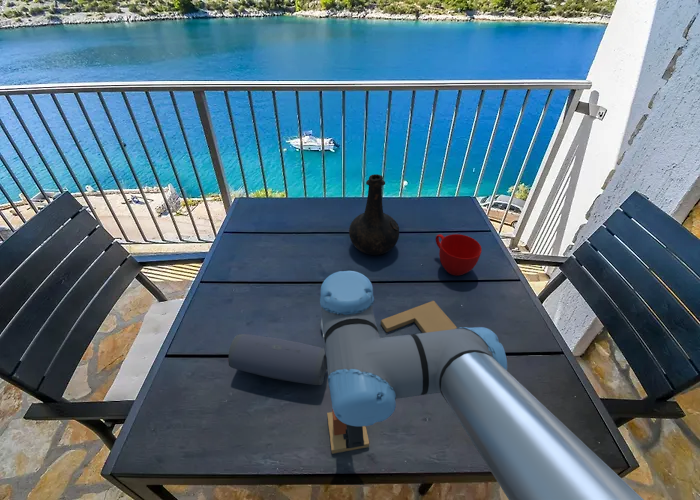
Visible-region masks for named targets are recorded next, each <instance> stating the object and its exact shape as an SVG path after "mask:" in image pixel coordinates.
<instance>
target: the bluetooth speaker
mask: <svg viewBox="0 0 700 500" xmlns="http://www.w3.org/2000/svg"><path fill="white" fill-rule="evenodd" d="M227 361H228V367H230V368H232V369H234V370H238V371H241V372H244V373H245V372H246V373H249V374H252V375H257V376H260V377H261V376H262V377H265V378H268V379H272V380H273V379H274V380H279V381H286V382H292V383H298V384H299V383H300V384H306V385H314V386H322V385H323V384H324V379H325V375H326V373H327V371H328V370H327V368H326V364H325V352H324V347H320V346H316V345H312V344H308V343H303V342H299V341H294V340H288V339H283V338H279V337H272V336H265V335H258V334H257V335H256V334H251V333H250V334H248V333H239V334H237V335H235V337H233V339H232V341H231V342H230V346H229V349H228V359H227Z"/></svg>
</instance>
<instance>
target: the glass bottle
mask: <svg viewBox="0 0 700 500" xmlns="http://www.w3.org/2000/svg"><path fill="white" fill-rule="evenodd" d="M365 184H366V185H367V186H368V188H367V190H368V191H367V198H366V204H365V209H364V212H362V213H360V214H358V215H357V216H356V217H354V219H353V220H352V221H351V223H350V225H349V228H348V235H349V239H350V241H351V243H352V245H353V246H354V247H355V248H356V249H357V250H359V252H361V253H363V254H367V255H369V256H379V255H384V254H386V253H388V252H389V251H391V250H392V249H393V248H394V247H395V246H396V244H397V243H398V241H399V238H400V226H399V224H398V223H397V221H396V220H395V219H394V218H393V217H392V216H391V215H389V214H388V213H385V212H384V210H383V209H384V207H383V186H385V185H386V181H385V180H384V177H383V175H381V174H374V173H373V174H371V175H369V177H368V179H367V180H366V181H365Z"/></svg>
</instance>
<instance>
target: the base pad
mask: <svg viewBox="0 0 700 500" xmlns="http://www.w3.org/2000/svg"><path fill="white" fill-rule="evenodd" d="M412 323H414V324H415V325H416V326H417V327H418V329H419V330H420V332H421V333H428V332H436V331H444V330H451V329H456V328H458V327H457V326H456V324H455V323H454V322H453V320H451V319H450V317H449V316H447V314H446V313H445V311H443V310H442V308H441V307H440V306H439V305H438V303H437V302H436V301H435V300H431V301H429V302H425V303H424V304H421V305H418V306H415V307H411V308H409V309H407V310H404V311H401V312H399V313H396V314H394V315H391V316H388V317H386V318H383V319H381V320H380V325H381V327H382V328H383V330H384V331H385V333H389V332H392V331H394V330H397V329H401V328H402V327H405V326H407V325H410V324H412Z"/></svg>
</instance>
